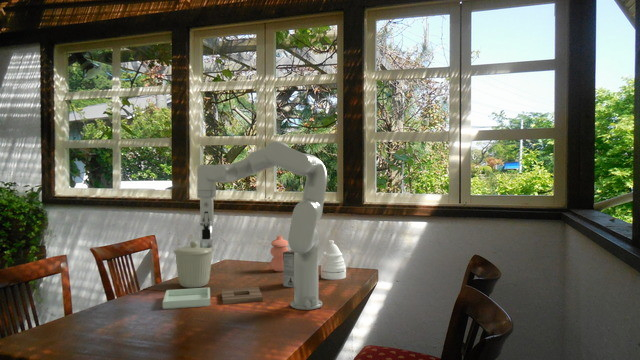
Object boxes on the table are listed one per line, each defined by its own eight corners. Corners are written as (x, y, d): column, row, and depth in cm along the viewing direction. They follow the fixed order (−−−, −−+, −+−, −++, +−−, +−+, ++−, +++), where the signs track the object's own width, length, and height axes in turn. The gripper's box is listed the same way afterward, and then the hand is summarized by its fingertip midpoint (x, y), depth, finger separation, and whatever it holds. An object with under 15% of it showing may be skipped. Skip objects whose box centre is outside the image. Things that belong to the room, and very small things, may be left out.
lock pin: (212, 247, 188) (212, 223, 188) (199, 248, 187) (200, 223, 187) (212, 245, 193) (212, 222, 193) (200, 246, 192) (200, 222, 192)
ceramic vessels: (328, 278, 229) (328, 240, 228) (293, 284, 216) (293, 245, 216) (291, 266, 257) (291, 233, 257) (258, 271, 245) (257, 236, 244)
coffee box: (293, 282, 221) (293, 248, 221) (304, 283, 218) (304, 250, 218) (282, 286, 213) (282, 251, 213) (294, 287, 210) (294, 253, 210)
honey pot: (316, 275, 236) (316, 240, 235) (338, 272, 241) (338, 238, 241) (327, 280, 224) (327, 244, 223) (350, 278, 229) (350, 242, 229)
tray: (210, 306, 182) (210, 298, 182) (162, 309, 178) (162, 301, 177) (209, 294, 199) (209, 287, 199) (166, 297, 195) (166, 290, 195)
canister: (203, 291, 204) (203, 244, 204) (166, 289, 208) (166, 243, 208) (220, 281, 222) (219, 238, 222) (185, 279, 226) (185, 237, 225)
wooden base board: (262, 301, 188) (262, 296, 188) (223, 304, 184) (223, 299, 184) (258, 291, 204) (258, 287, 203) (221, 294, 200) (221, 289, 200)
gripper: (215, 195, 182) (215, 241, 182) (215, 193, 199) (215, 235, 199) (196, 195, 180) (196, 241, 181) (197, 193, 197) (197, 235, 197)
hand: (206, 237), depth 190 cm, fingers closed on lock pin, 5 cm apart
